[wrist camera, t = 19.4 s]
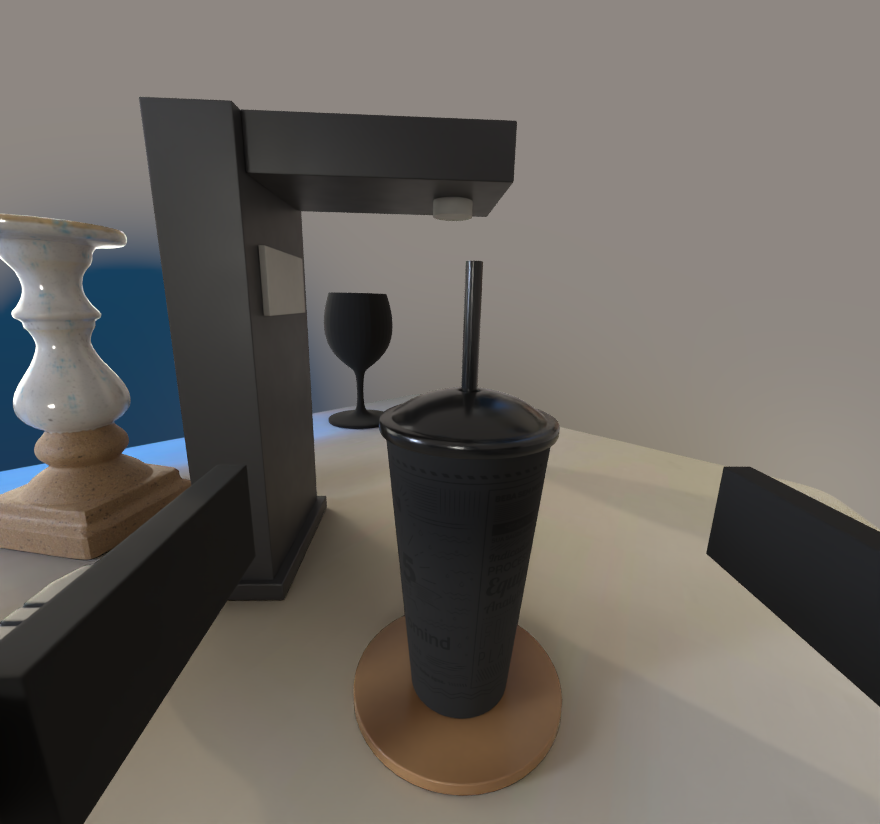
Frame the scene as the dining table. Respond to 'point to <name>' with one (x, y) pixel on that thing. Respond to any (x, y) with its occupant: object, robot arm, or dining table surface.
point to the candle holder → (72, 405)
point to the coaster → (456, 720)
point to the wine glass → (358, 344)
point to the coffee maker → (282, 275)
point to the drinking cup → (465, 525)
